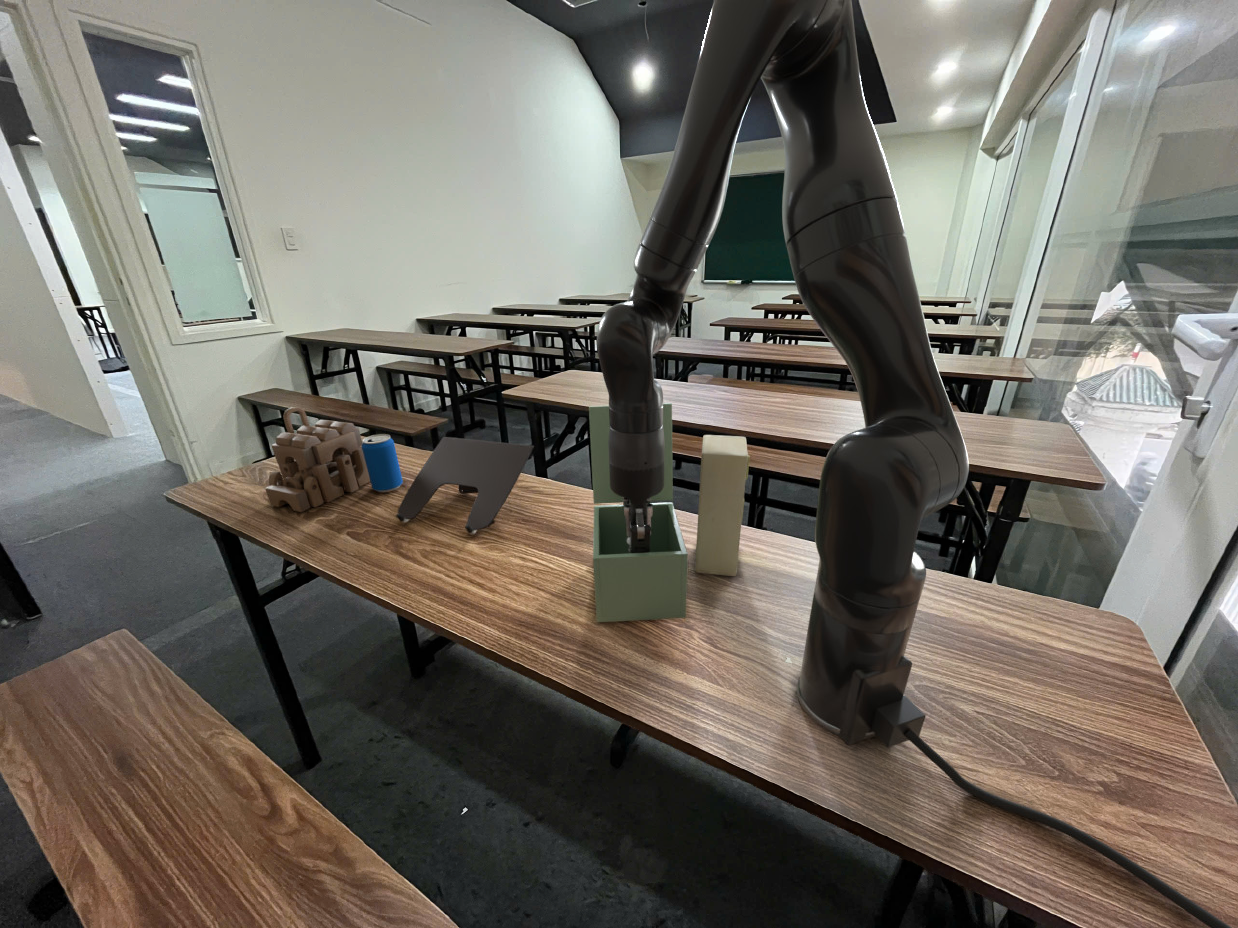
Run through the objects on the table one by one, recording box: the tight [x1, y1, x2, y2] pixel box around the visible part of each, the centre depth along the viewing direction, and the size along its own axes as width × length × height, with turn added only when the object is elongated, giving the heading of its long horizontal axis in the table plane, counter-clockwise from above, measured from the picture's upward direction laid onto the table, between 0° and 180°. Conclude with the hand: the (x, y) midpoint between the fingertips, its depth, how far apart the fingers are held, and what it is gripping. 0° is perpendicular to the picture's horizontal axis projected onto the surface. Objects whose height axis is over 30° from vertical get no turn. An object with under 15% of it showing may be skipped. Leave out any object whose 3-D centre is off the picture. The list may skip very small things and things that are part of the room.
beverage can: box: [361, 433, 404, 493], centre depth 107 cm, size 6×6×12 cm
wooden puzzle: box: [264, 406, 371, 513], centre depth 107 cm, size 22×15×19 cm, turn 158°
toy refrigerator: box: [694, 434, 751, 577], centre depth 76 cm, size 8×7×21 cm
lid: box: [588, 402, 674, 505], centre depth 77 cm, size 15×13×5 cm
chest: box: [592, 501, 689, 623], centre depth 72 cm, size 15×13×11 cm
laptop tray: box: [395, 436, 535, 536], centre depth 100 cm, size 23×23×9 cm
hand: (638, 562), depth 71 cm, fingers closed on rook chess piece, 3 cm apart
